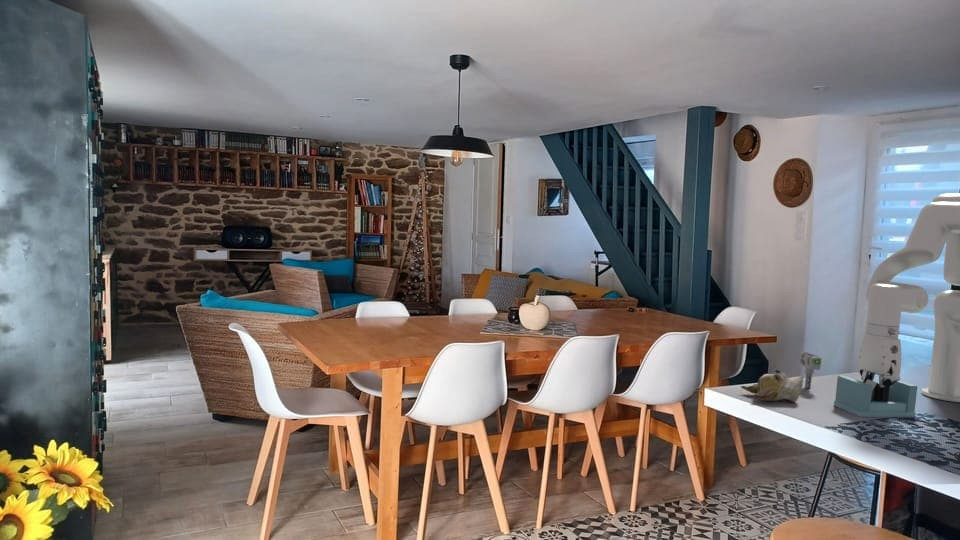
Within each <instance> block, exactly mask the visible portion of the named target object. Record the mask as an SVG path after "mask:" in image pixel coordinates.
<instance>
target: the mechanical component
mask: <svg viewBox="0 0 960 540" xmlns="http://www.w3.org/2000/svg"><path fill="white" fill-rule="evenodd" d="M822 359H823V358H822V357H820V356H818V355H817V354H813V353H809V352H807V351H803V352H801V354H800V358H799V363H800V365H801V366H803V367H804V373H805V381H804V382H805V383H804V388H805V389H807V388H810V389H811V387H812V379H813V378H812V376H813V374H815V371H819V370H821V365H822Z"/></svg>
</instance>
